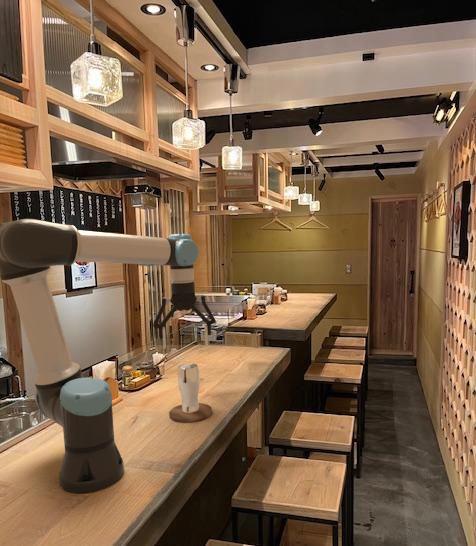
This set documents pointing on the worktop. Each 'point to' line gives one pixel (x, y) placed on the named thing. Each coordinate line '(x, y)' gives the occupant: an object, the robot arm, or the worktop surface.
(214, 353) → the worktop surface
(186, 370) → the beer glass
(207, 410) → the walnut coaster board
